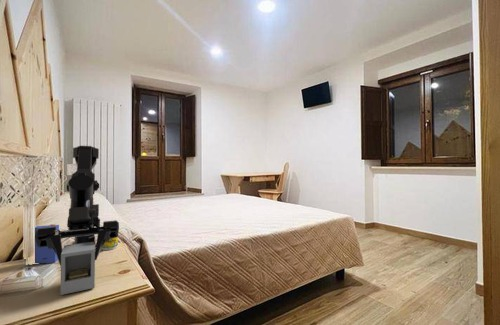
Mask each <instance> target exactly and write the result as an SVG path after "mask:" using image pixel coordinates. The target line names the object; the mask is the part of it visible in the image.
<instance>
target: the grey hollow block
mask: <svg viewBox="0 0 500 325" xmlns="http://www.w3.org/2000/svg"><path fill="white" fill-rule="evenodd" d="M95 245H96V241H95V242H88V243H80V244H75V243H73V244H66V245H65V244H64V246H63V247H62V253H61V266H60V296H63V295H67V294H72V293H78V292H81V291H86V290H90V289H95V283H96V282H95V276H96V272H95V271H96V260H95V249H96V247H95ZM84 268H88V276H87V277H82V278H77V279H71V280H69V274H70V271H73V270H79V269H84Z"/></svg>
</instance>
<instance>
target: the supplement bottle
mask: <svg viewBox="0 0 500 325" xmlns="http://www.w3.org/2000/svg"><path fill="white" fill-rule="evenodd" d="M118 246H119V236H118V237H116V238H110V240H109V241H106V242H105V243H104V245H103V247H102V248H101V250H103V251H110V250H114V249H117V248H118Z"/></svg>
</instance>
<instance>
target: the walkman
mask: <svg viewBox="0 0 500 325" xmlns="http://www.w3.org/2000/svg"><path fill="white" fill-rule="evenodd" d="M34 226H35V233H36V230H38V229H39V228H43V227H54V226H56V230H60V225H59V224H56V223H52V224H49V225H34ZM56 262H58V258H57V255H56V253H55V251H54V250H53V249H49V248H48V247H37V243H36V240H35V263H47V264H54V263H55V264H56Z"/></svg>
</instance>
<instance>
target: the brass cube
mask: <svg viewBox="0 0 500 325" xmlns="http://www.w3.org/2000/svg"><path fill="white" fill-rule="evenodd" d="M87 276H88V268H84V269H79V270H73V271H70V274H69V280H71V279H77V278H82V277H87Z"/></svg>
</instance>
